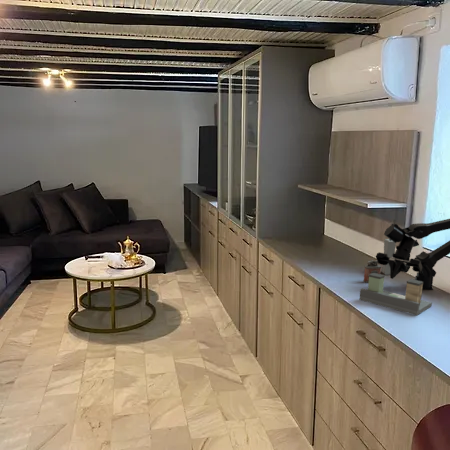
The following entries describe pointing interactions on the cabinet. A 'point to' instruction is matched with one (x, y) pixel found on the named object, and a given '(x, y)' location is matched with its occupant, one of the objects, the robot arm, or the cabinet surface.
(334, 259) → the cabinet surface
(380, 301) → the switch board
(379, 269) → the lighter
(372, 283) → the sage block
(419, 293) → the beech block
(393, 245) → the grey upright bar
